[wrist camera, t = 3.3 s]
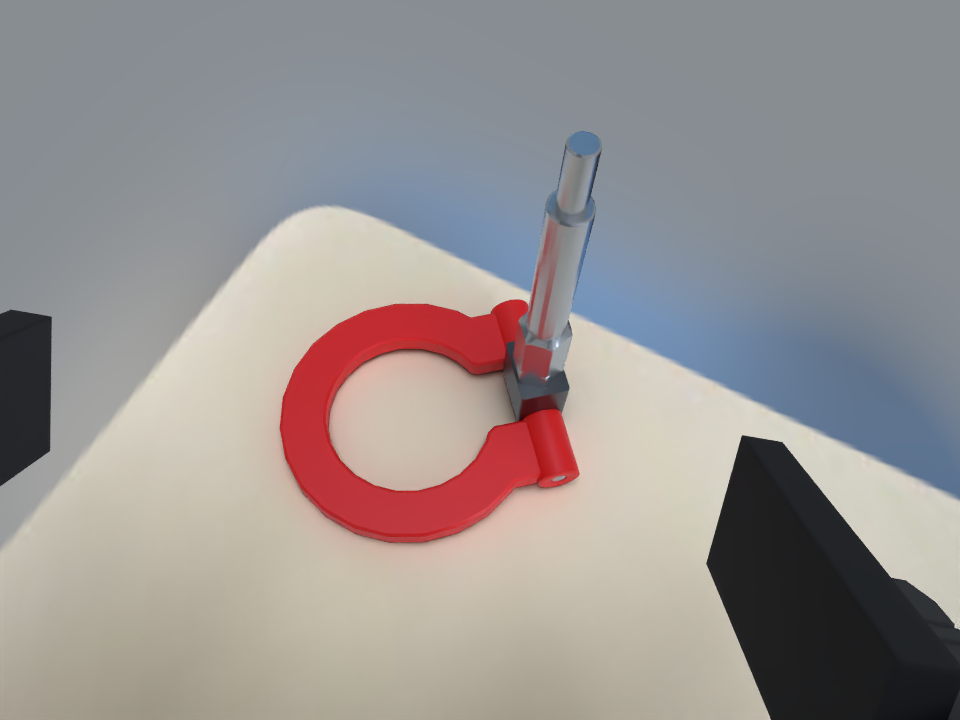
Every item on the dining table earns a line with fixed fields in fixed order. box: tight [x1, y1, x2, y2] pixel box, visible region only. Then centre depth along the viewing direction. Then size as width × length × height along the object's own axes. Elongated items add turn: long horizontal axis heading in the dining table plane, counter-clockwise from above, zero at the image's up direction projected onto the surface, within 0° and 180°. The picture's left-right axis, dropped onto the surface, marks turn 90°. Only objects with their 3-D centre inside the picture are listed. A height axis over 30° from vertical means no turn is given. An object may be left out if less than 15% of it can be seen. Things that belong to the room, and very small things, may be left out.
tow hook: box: [280, 131, 602, 542], centre depth 22 cm, size 8×13×9 cm
